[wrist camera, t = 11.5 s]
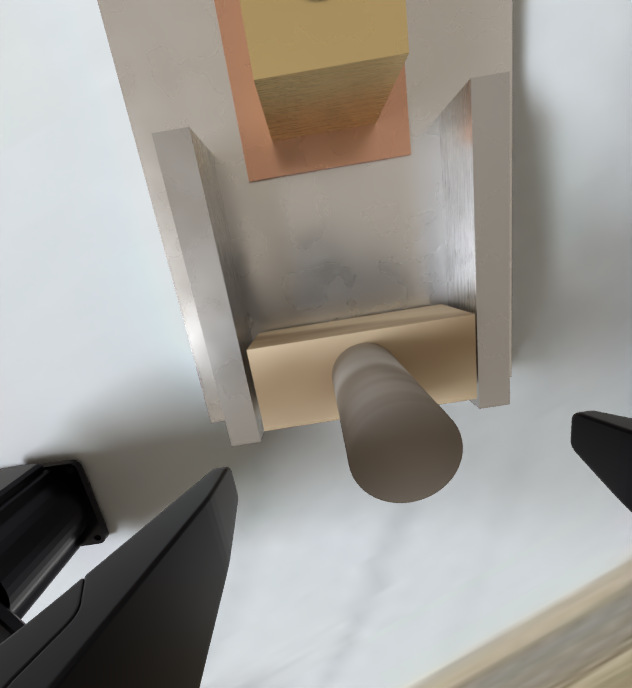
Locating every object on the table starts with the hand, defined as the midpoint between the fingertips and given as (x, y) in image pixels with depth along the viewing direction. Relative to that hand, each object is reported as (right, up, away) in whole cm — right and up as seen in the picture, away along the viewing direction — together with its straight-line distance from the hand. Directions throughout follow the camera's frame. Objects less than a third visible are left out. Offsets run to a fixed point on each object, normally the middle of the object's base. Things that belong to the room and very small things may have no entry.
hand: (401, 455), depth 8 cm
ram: (0, +2, +9) cm, 10 cm away
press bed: (-2, +12, +8) cm, 15 cm away
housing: (-2, +16, +6) cm, 17 cm away
